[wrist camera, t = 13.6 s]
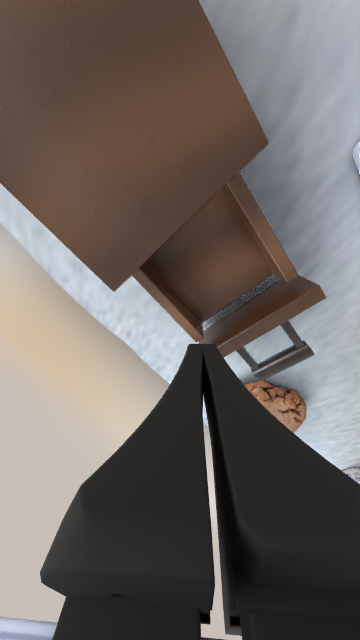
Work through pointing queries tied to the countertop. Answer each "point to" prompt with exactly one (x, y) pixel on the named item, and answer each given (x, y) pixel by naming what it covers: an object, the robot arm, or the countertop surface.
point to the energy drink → (353, 473)
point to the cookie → (280, 403)
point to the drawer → (231, 279)
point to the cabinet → (118, 122)
